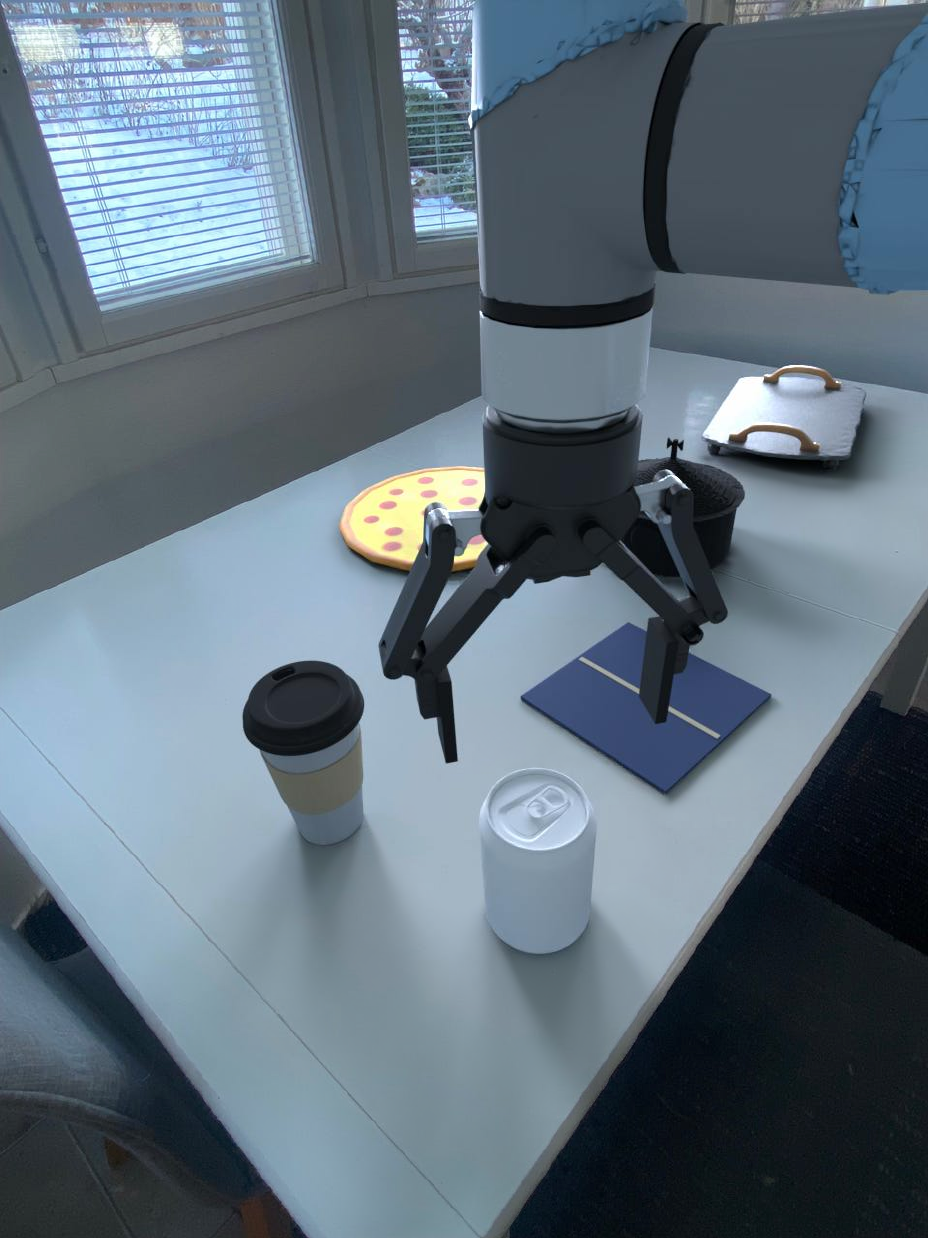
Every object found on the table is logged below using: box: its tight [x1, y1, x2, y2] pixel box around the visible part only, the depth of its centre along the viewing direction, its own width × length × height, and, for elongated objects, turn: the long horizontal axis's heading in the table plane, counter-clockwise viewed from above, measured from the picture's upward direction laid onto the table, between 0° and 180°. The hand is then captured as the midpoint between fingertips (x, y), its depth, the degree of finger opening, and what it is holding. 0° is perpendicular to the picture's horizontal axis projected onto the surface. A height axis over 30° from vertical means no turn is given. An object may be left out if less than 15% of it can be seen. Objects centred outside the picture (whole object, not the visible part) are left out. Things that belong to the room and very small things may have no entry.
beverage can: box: [478, 767, 598, 955], centre depth 53 cm, size 8×8×12 cm
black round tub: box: [620, 436, 746, 578], centre depth 95 cm, size 18×18×15 cm
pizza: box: [338, 465, 488, 573], centre depth 109 cm, size 32×32×1 cm
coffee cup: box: [241, 659, 365, 846], centre depth 60 cm, size 9×9×15 cm
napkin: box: [520, 621, 772, 795], centre depth 75 cm, size 18×18×1 cm
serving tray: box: [700, 364, 867, 472], centre depth 128 cm, size 39×23×6 cm, turn 152°
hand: (552, 728), depth 47 cm, fingers open, 13 cm apart
